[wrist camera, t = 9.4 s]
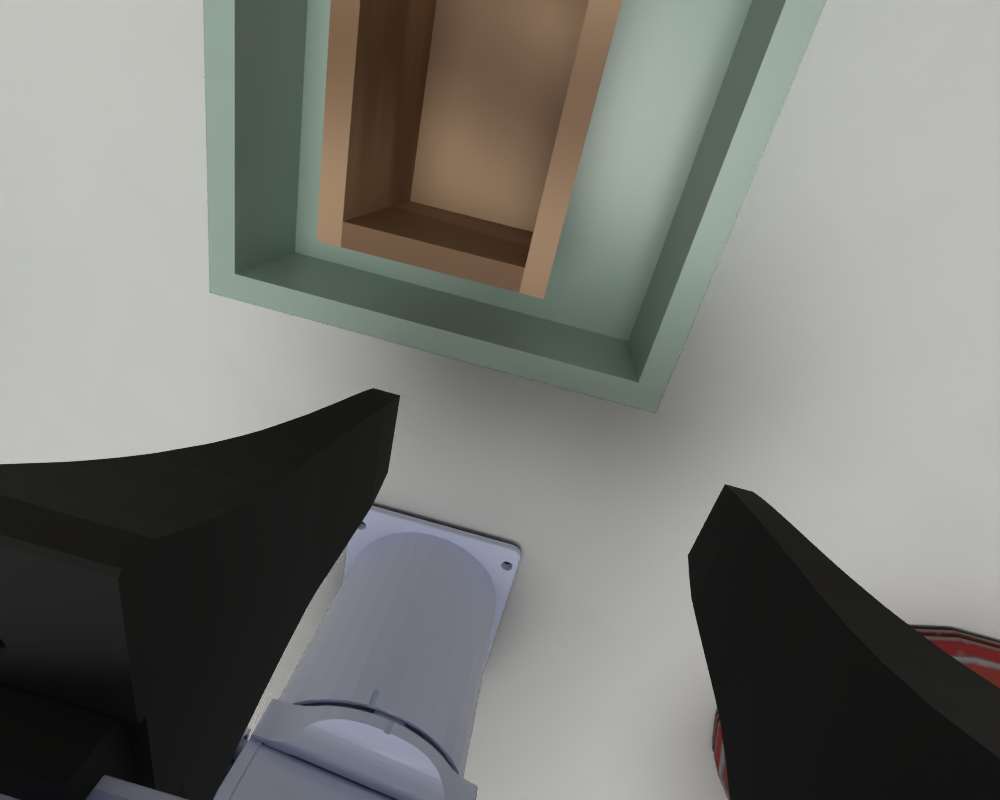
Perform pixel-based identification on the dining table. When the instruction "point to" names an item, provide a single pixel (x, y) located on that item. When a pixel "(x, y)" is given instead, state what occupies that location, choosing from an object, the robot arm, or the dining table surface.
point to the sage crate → (590, 214)
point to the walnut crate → (459, 130)
